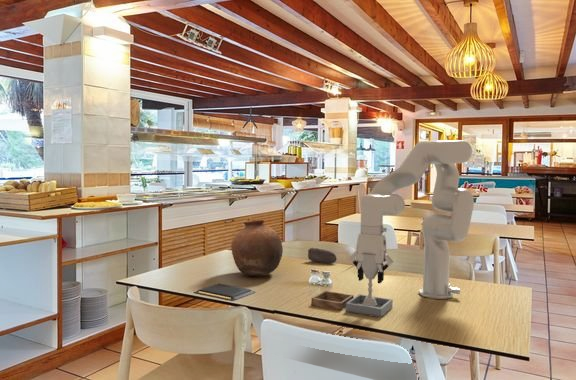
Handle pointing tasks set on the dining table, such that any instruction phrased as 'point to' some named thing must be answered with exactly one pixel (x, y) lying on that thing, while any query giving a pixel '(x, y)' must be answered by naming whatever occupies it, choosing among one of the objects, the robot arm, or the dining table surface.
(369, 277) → the chalice
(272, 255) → the pottery
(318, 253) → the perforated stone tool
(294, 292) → the dining table surface
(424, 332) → the dining table surface
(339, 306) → the tray
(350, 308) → the parts tray
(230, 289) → the dark grey book
